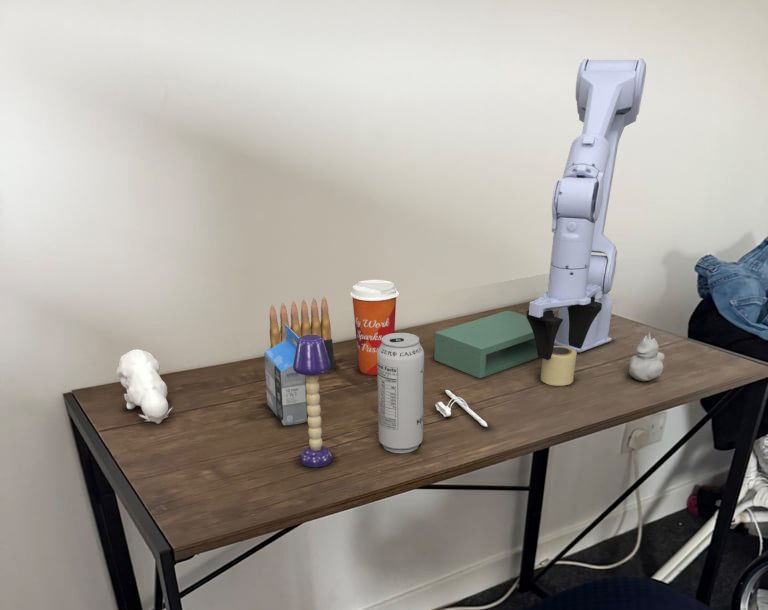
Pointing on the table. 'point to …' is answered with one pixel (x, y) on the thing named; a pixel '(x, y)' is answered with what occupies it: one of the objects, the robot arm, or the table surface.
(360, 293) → the paper cup
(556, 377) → the tape roll
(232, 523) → the table surface
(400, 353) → the energy drink can
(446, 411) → the picture light
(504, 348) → the desk shelf
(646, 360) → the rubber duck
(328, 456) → the toy lamp
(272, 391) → the label tape box
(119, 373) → the white animal figurine
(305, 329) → the ammunition clip
